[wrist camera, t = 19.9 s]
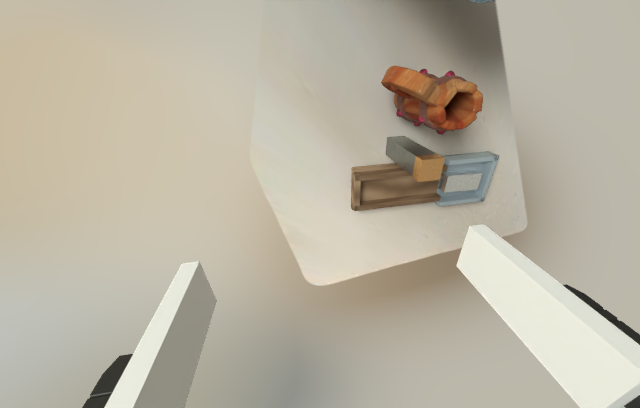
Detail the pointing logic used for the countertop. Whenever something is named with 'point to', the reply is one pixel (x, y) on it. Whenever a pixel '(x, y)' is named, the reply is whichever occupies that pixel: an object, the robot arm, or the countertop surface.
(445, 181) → the chip
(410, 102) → the mug
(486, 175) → the tray
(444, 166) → the slot board
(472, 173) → the chip
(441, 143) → the countertop surface
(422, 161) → the grey and tan block
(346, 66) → the countertop surface
